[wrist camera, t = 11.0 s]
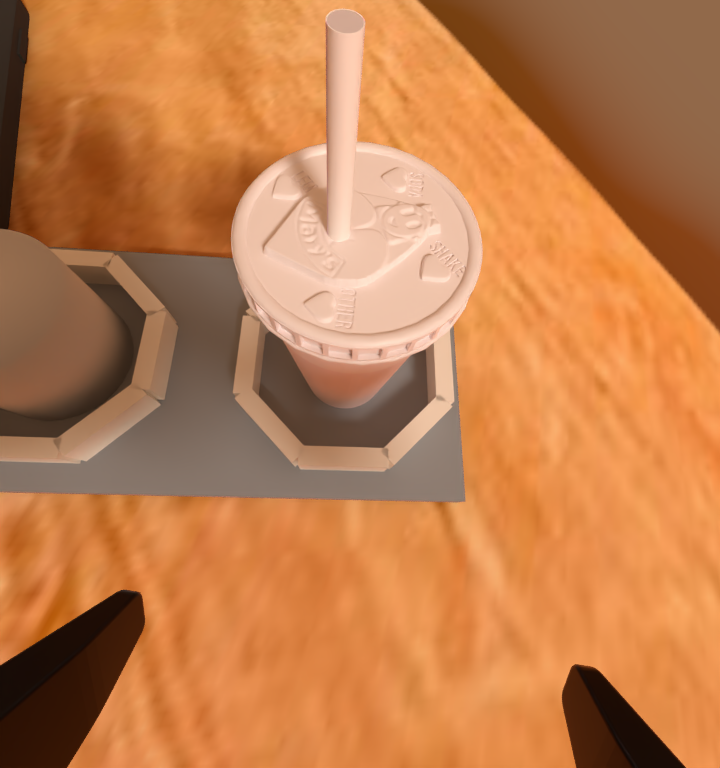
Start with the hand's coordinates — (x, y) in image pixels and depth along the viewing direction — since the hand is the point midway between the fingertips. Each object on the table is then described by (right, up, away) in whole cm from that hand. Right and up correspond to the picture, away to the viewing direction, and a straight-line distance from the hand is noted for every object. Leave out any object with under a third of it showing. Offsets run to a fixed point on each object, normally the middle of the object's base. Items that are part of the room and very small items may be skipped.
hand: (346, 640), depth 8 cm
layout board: (-7, +6, +11) cm, 14 cm away
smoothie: (0, +6, +11) cm, 12 cm away
